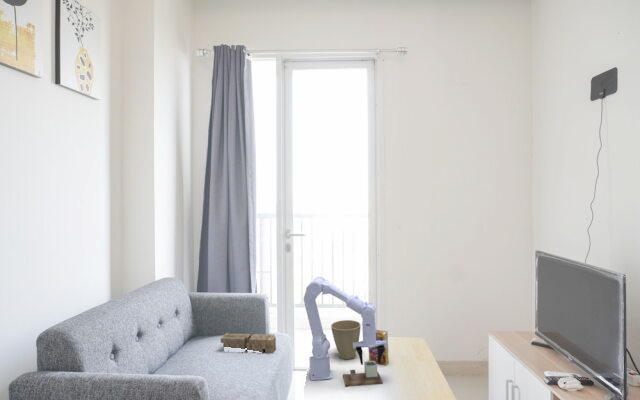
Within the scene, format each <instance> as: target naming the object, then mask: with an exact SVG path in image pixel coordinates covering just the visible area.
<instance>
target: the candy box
mask: <svg viewBox="0 0 640 400" xmlns="http://www.w3.org/2000/svg"><path fill="white" fill-rule="evenodd" d="M376 340H380V341H386V347H384V348H385V350H384V352H383V354H382V357H381V361H380V363H378V352H377V347H371V348H369V347H367V348H368V349H367V350H368V361H375V362H376V364H378V365H382V366H387V365H388V364H389V361H390V359H389V334H388V331H386V330H380V329H379V330H378V329H376Z"/></svg>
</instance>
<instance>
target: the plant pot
mask: <svg viewBox="0 0 640 400" xmlns="http://www.w3.org/2000/svg"><path fill="white" fill-rule="evenodd" d="M361 325H362V323H360V322H359V321H356V320H352V319H351V320H349V319H345V320H344V319H342V320H337V321H334V322H333V323H331V324H330V328H331V333H332V337H333V340H334V343H335V346H336V349H337V352H338V354H339V357H340V358H341V359H343V360H349V359H351V360H352V359H354V358H355V356H356V353H357V350H356V349H354V348H353V343H355V342H360V336H361Z"/></svg>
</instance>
